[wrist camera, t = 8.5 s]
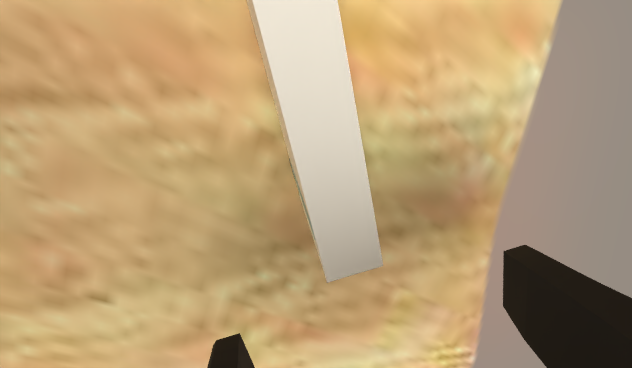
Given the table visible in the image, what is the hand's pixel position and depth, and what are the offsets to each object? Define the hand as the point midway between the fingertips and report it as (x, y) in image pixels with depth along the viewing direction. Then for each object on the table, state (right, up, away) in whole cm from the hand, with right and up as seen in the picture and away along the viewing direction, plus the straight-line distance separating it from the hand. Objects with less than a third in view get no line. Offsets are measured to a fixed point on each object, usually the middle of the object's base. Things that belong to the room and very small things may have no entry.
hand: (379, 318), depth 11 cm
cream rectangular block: (-3, +10, +4) cm, 11 cm away
